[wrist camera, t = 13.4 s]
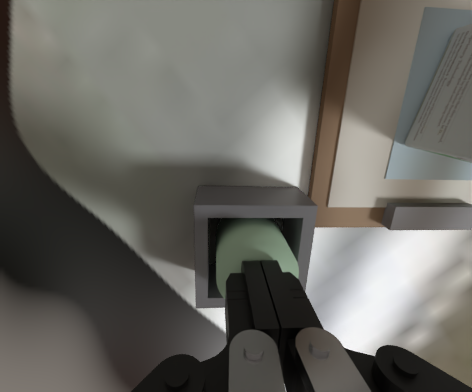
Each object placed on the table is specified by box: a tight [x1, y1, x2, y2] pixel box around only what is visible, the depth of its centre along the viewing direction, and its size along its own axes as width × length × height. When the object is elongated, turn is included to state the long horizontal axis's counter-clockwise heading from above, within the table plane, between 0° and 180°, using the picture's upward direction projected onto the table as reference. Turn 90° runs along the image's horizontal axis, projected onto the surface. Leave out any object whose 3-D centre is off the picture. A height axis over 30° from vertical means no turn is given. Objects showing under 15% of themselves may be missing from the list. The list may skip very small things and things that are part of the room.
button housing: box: [194, 186, 318, 308], centre depth 13 cm, size 6×6×3 cm
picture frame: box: [308, 0, 472, 230], centre depth 13 cm, size 14×13×1 cm
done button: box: [216, 218, 299, 299], centre depth 13 cm, size 4×4×4 cm
